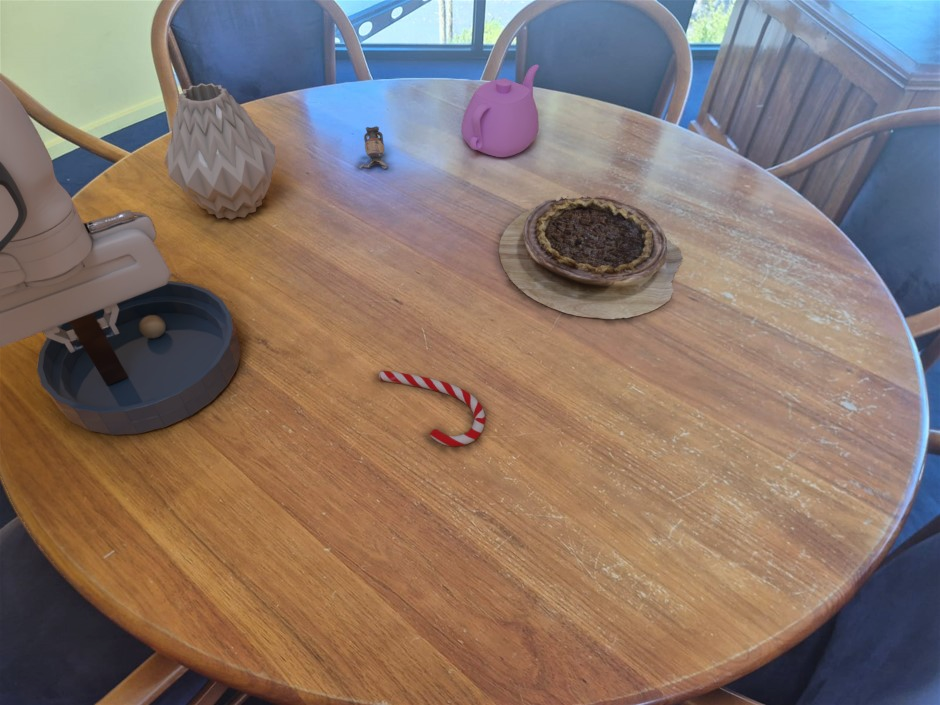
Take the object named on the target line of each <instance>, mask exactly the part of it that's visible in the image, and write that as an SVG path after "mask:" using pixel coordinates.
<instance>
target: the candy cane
mask: <svg viewBox="0 0 940 705" xmlns="http://www.w3.org/2000/svg"><path fill="white" fill-rule="evenodd" d="M378 379H379V380H380V381H382V382H387V383H395V384H401V385H407V386H412V387H417V388H423V389H427V390H431V391H434V392H439V393H443V394H446V395H448V396H451V397H453V398H456V399H457V400H459V401H461V402H463V403H464V404H465V405H466V406H468V407H469V409H470V410H471V412H472V414H473V418H474V419H473V424H472V426H471V427H470V429H469V430H468V431H466V432H464V433H462V434H459V435H448V434H445V433H443V432H442V431H440V430H438V429H437V428H434V429H432V430H431V432H430V433H429V435H430V438H432V439H433V440H434V441H436V442H437V443H439V444H441V445H444V446H448V447H461V446H466V445H468V444H471V443H473V442H475V441H476V440H477V439H478V438H479V437H480V436H481V434H482V432H483V430H484V428H485V424H486V414H485V411H484V408H483V405H482V404H481V403H480V401H479V400H478V399H477V398H476V397H475V396H473V395H472V394H471V393H470V392H468V391H466V390H464V389H462V388H461V387H459V386H456V385H454V384H451V383H449V382H445V381H442V380H438V379H434V378H429V377H425V376H422V375H421V376H420V375H416V374H411V373H405V372H399V371H392V370H381V371H380V372H379V374H378Z"/></svg>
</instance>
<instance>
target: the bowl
mask: <svg viewBox="0 0 940 705" xmlns="http://www.w3.org/2000/svg"><path fill="white" fill-rule="evenodd" d="M117 306H118V308H119V313H118V316H117V320H116V323H115V325H116V327H117V329H118V331H119V333H120V334H117V335H114V336H112V337H109V338H107V339H108V341H109V343H110V345H111V347H112V348H113V350H114V352H115V354H116V356H117V357H118V359H119V361H120V363H121V365H122V366H123V368H124V370H125V372H126V374H127V376H128V377H127V378H125V379H123V380H120V381H118V382H116V383H113V384H111V385H109V386H107V385H106V383H105V382H104V380H103V378H102V377H101V375H100V373H99V372H98V370H97V368H96V367H95V365H94V363H93V362H92V360H91V358H90V357H89V355H88V353H87V352H86V350H85V348H82V349H80V350H77V351H74V352H72V353H70V351H69V350H68V348H67V347H66V345H65V343H64V344H63V343H60V342H57V341H55V340H52V339H50V338H47V337H46V339H45V341H44V342H43V344H42V346H41V348H40V350H39V353H38V359H37V365H36V372H37V375H38V378H39V381H40V385H41V387H42V388H43V390H44V391H45V392H46V393H47V395H48V396H49V398H50V399H51V400H52V402H53V403H54V404H55V406H56V407H57V408H58V410H59V412H61V413H62V414H63V415H64V416H65V417H66V418H67V420H69V422H71V423H73V424H74V425H77V426H79V427H81V428H82V429H84V430H87V431H89V432H95V433H100V434H106V435H113V436H117V435H138V434H142V433H143V434H144V433H147V432H150V431H154V430H155V431H156V430H159V429H163V428H166V427H168V426H171V425H173V424H175V423H178V422H181V421H182V420H185V419H187V418H189V417H192V416H193V415H194V414H195V413H197V412H198V411H200V410H202V409H203V408H204V407H206V406H208V405H209V404H210V403H211V402H213V401H214V400H215V399H216V398H217V397H218V396H219V395H220V393H221V392H222V391H224V389H225V388H227V386H228V384H229V383H230V382H231V380H232V378H233V377H234V375H235V373H236V371H237V370H238V368H239V363H240V359H241V353H242V349H241V343H240V336H239V333H238V330H237V327H236V325H235V322H234V318H233V316H232V313H231V311H230V310H229V308H228V307H227V305H226V303H225V302H224V300H223V299H222V298H220V297H219V296H218V295H216V294H215V293H213V292H212V291H211V290H209V289H208V288H207V289H206V288H204V287H202V286H199V285H196V284H194V283H188V282H181V281H174V280H169V282H168V284H166V285H164V286H162V287H159V288H157V289H154V290H151V291H149V292H146V293H143V294H141V295H138V296H135V297H133V298H130V299H128V300H125V301H122V302H120V303H117ZM93 314H94V316H95V318H96V320H98V319H100V318H103V317H104V309H101V310H99V311H96V312H93ZM148 315H156V316H159V317H160V318H162V319H163V320H164V322H165V325H166V329H165V332H164V334H163V335H162V336H160V337H158V338H155V339H151V338H147V337H145V336H144V335H142V333H141V332H140V329H139V324H140V321H141V320H142V319H143V318H144V317H146V316H148ZM58 328H60V329H62V330H65V331H69V330H72V327H71V325H70V324H69V322H67V323H64V324H62V325H59V326H58Z"/></svg>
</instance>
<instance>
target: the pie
mask: <svg viewBox="0 0 940 705" xmlns="http://www.w3.org/2000/svg"><path fill="white" fill-rule="evenodd" d="M498 254H499V259H500V263H501V266H502V269H503V270H504V271H505V273H506V275H507V276H508V278H509V280H510V281H511V282H512V283H513V284H514V285H515V286H516V287H517V288H518V289H519V290H520V291H521V292H522V293H524V294H525V295H526V296H528V297H529V298H531V299H532V300H534V301H536V302H537V303H539V304H542V305H544V306H546V307H548V308H551V309H553V310H556V311H559V312H562V313H564V314H568V315H571V316H576V317H583V318H594V319H603V320H617V319H623V318H624V319H629V318H632V317H637V316H641V315H645V314H647V313H651V312H653V311H655V310H656V309H659V308H660V307H663V306H664V305H665V304H667V302H669V301H670V300H671V297H672V296H673V293H674V291H675V290H674V288H673V282H672V281H674V280H675V278H674V276H675V275H676V273H677V272H678V267H680V265H681V263H682V262H683V261H682V260H683V254H682V250H681V248H680V247H679V246H678V245H676V244H675V243H672V242H671V240H670V239H668V238H667V236H666V234H665V232H664V230H663V228H662V227H661V225H660V224H659V222H657V220H656V219H655V218H654V217H652V216H651V215H649V214H648V213H647V212H645V210H642V209H641V208H638V207H636V206H634V205H631V204H628V203H626V202H624V201H622V200H619V199H615V198H613V197H608V196H603V195H601V196H595V197H594V198H593V197H591V196H586V197H584V196H580V197H578V198H577V197H576V198H574V197H572V198H569V195H567V196H566V197H565V198H564V197H562V196H561V197H560V199H559V200H557V199H548V200H544V201H543V202H542V203H541V204H538V205H537V206H535V207H533V208H531V209H529V210H526V211H525V212H523V213H521V214H520V215H519V216H518V217H516V218H515V219H514V220H513V221H511V223H510V224H508V226H507V227H506V228H505V230H504V232H503V234H501V238H500V241H499V247H498Z"/></svg>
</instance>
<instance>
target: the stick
mask: <svg viewBox="0 0 940 705" xmlns="http://www.w3.org/2000/svg"><path fill="white" fill-rule="evenodd" d="M69 324H70V325H71V327H72V329H73V330H74V332H75V334H76V335H77V337H78V339H79V340H80V342H81V343H82V345H83V347H84V348H85V350H86V352H87V353H88V355H89V357H90V358H91V360H92V362H93V363H94V365H95V367H96V368H97V370H98V372H99V373H100V375H101V377H102V378H103V380H104V382H105V383H106V385H107V386H109V385H111V384H113V383H116V382H118V381H120V380H123V379H125V378H127V377H128V376H127V374H126V372H125V370H124V368H123V366H122V365H121V363H120V361H119V359H118V357H117V356H116V354H115V352H114V350H113V348H112V347H111V345H110V343H109V341H108V339H107V338H106V336H105V334H104V333H103V331H102V329H101V327H100V325H99V323H98V321H97V320H96V318H95V316H94V314H93V313H91V314H88V315H85V316H83V317H80V318H77V319H75V320H72V321H70V322H69Z"/></svg>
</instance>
